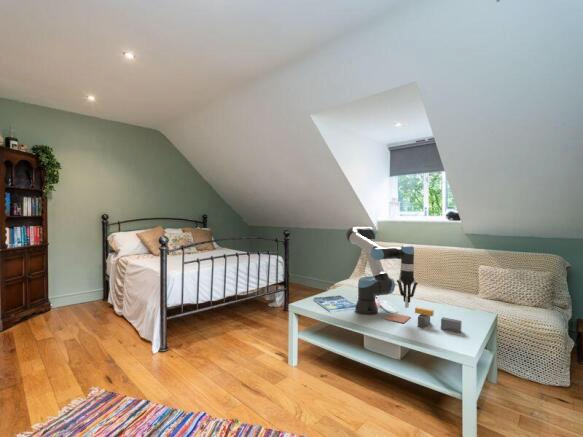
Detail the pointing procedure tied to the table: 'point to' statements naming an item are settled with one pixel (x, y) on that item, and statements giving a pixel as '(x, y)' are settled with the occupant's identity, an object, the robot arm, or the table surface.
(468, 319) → the table surface
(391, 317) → the mat
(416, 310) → the orange rectangular beam
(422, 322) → the tall gray pillar
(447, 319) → the gray rectangular box
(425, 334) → the table surface
